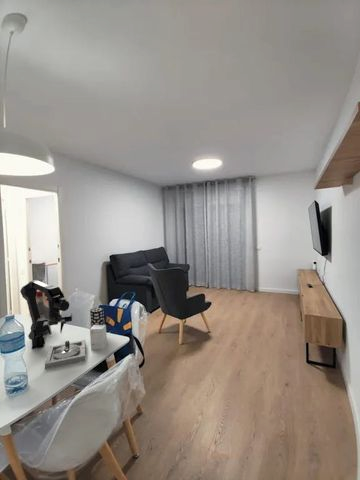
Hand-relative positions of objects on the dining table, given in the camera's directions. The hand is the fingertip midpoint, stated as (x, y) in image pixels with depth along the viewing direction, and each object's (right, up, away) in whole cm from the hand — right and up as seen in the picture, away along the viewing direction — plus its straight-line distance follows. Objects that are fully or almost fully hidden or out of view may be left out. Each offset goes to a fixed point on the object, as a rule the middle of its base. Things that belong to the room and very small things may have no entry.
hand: (55, 333), depth 143 cm
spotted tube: (+19, -10, +17) cm, 28 cm away
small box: (+23, -11, +7) cm, 27 cm away
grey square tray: (+8, -12, -2) cm, 14 cm away
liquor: (-25, -11, +29) cm, 40 cm away
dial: (+8, -10, -2) cm, 13 cm away
